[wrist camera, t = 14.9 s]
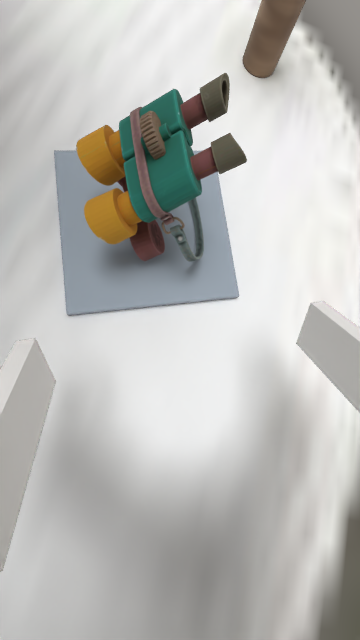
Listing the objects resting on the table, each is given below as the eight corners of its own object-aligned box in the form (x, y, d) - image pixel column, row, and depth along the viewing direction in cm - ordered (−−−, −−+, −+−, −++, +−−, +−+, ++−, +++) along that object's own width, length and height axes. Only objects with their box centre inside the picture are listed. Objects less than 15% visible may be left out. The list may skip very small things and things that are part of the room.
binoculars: (148, 191, 23) (58, 98, 14) (243, 145, 19) (206, -22, 10) (163, 284, 22) (75, 249, 13) (267, 253, 18) (249, 173, 9)
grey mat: (56, 156, 21) (54, 150, 20) (212, 156, 23) (213, 151, 22) (69, 315, 19) (66, 314, 18) (236, 297, 21) (239, 296, 20)
